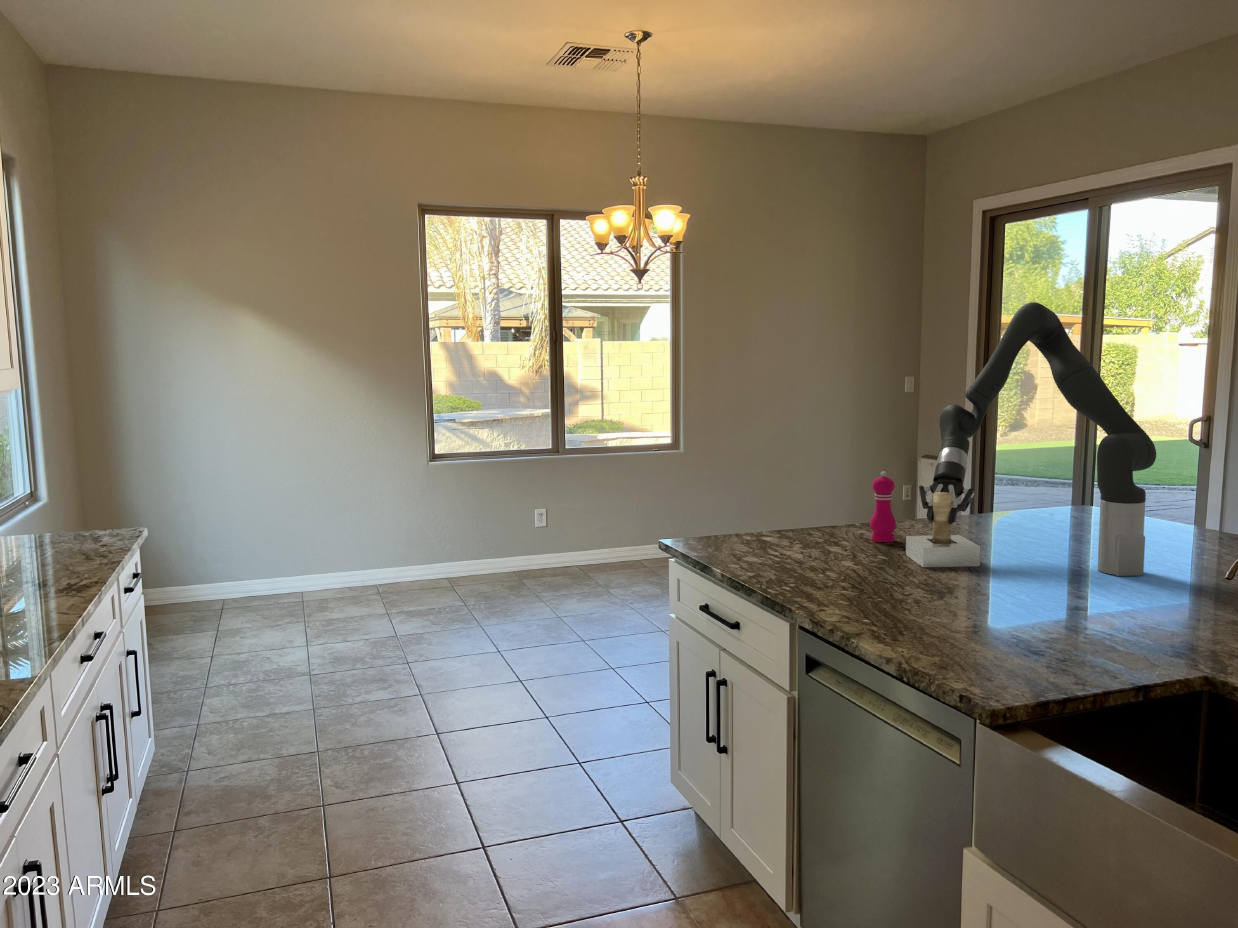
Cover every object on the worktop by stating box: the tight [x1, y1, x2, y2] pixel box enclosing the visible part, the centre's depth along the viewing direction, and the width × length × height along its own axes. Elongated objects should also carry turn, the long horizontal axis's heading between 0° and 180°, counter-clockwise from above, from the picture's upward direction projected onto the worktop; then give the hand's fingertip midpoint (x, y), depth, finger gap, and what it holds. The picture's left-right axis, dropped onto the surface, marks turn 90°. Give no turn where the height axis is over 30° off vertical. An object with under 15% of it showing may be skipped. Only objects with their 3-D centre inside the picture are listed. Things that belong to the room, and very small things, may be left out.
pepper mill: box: [869, 471, 897, 543], centre depth 245 cm, size 7×7×20 cm
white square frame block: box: [905, 534, 981, 568], centre depth 221 cm, size 14×14×5 cm
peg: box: [932, 492, 952, 544], centre depth 220 cm, size 4×4×13 cm
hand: (940, 521), depth 218 cm, fingers closed on peg, 4 cm apart
